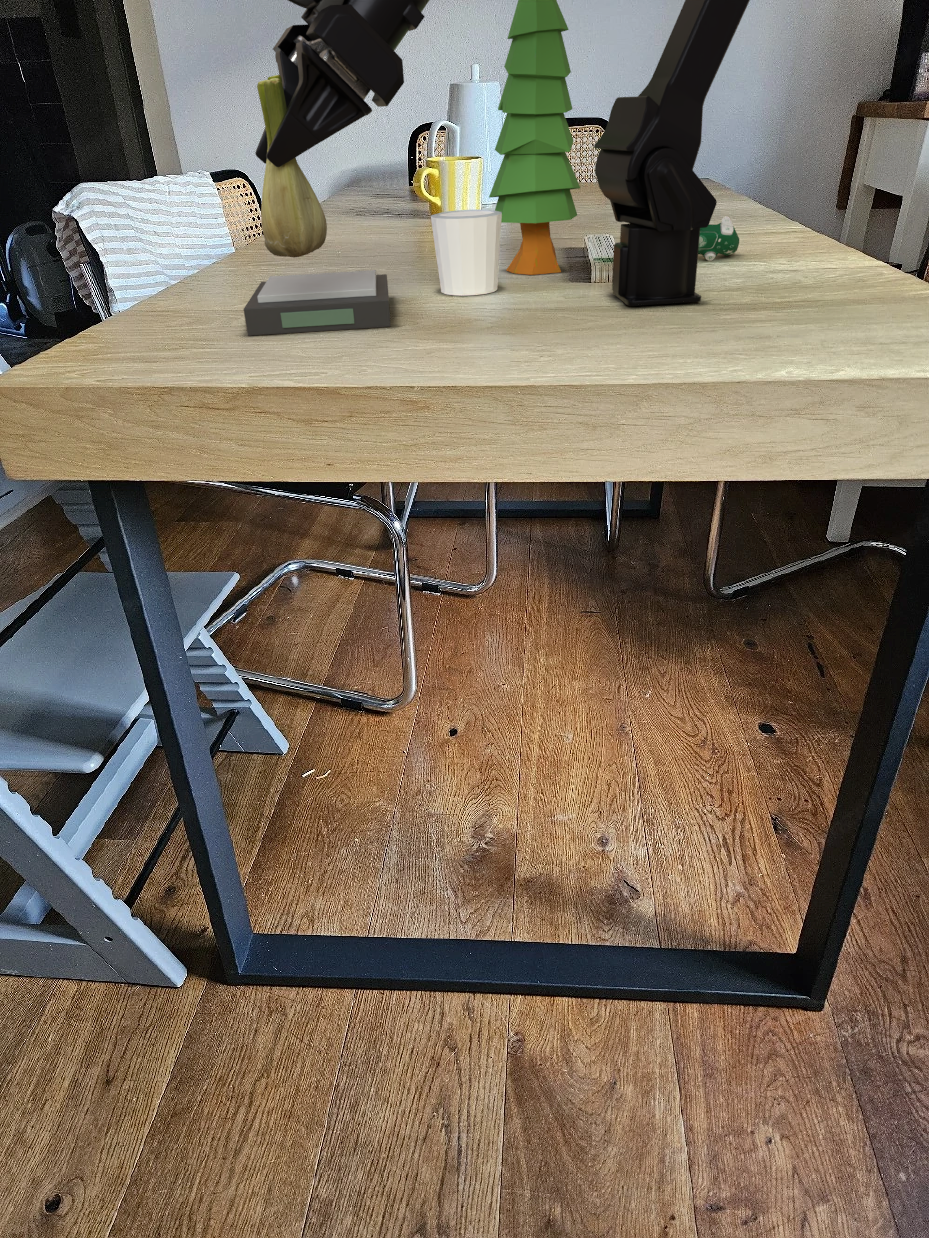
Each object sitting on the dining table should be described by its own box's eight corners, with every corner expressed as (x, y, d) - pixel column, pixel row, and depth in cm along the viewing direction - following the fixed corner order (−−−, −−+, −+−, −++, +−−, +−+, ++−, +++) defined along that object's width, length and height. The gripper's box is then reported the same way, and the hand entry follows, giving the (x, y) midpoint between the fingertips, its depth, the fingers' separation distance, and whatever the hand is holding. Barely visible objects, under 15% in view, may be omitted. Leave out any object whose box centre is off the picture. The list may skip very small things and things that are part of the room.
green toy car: (651, 276, 100) (654, 241, 94) (652, 246, 101) (656, 210, 95) (736, 274, 98) (744, 239, 93) (736, 245, 99) (745, 208, 94)
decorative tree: (512, 280, 92) (506, -87, 76) (476, 268, 99) (464, -68, 84) (594, 270, 95) (604, -85, 79) (553, 259, 102) (555, -67, 87)
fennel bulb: (284, 249, 72) (257, 77, 66) (341, 247, 71) (319, 72, 65) (254, 262, 67) (223, 78, 61) (315, 261, 66) (289, 73, 60)
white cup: (497, 296, 84) (495, 216, 81) (427, 297, 86) (422, 218, 82) (509, 283, 90) (507, 208, 86) (443, 284, 91) (439, 209, 88)
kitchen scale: (388, 298, 86) (386, 267, 85) (390, 327, 75) (387, 292, 73) (264, 305, 85) (260, 275, 84) (247, 336, 74) (241, 301, 73)
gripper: (281, -101, 66) (163, 80, 69) (331, -167, 51) (176, 69, 54) (393, 21, 72) (280, 183, 75) (468, -5, 57) (322, 200, 60)
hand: (265, 161), depth 66 cm, fingers closed on fennel bulb, 6 cm apart
